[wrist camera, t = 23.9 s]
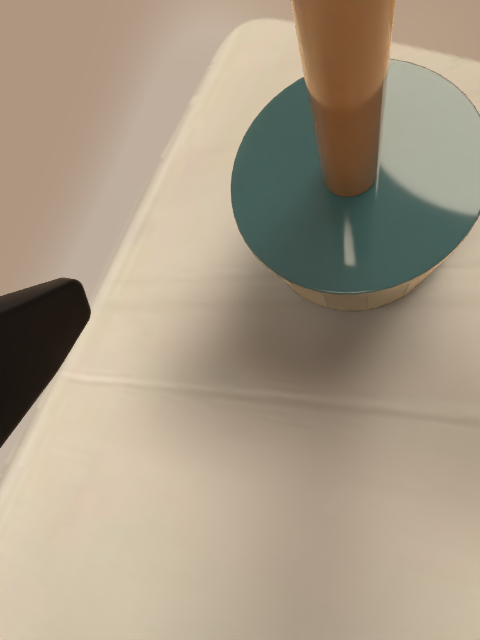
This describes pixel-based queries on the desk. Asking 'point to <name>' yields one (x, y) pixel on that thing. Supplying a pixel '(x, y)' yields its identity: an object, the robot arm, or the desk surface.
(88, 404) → the desk surface
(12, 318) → the robot arm
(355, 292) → the lid
